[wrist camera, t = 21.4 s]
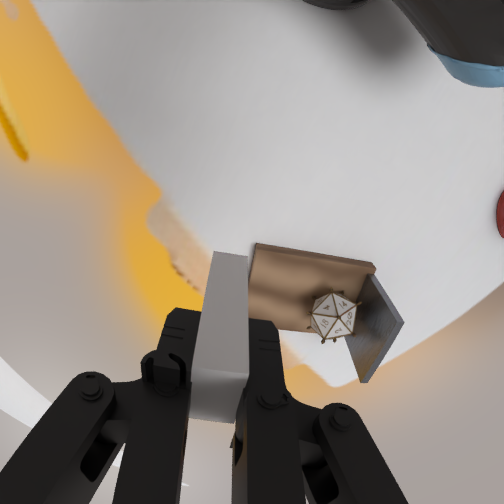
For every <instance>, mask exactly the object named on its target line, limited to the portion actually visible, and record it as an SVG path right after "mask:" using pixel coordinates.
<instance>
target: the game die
mask: <svg viewBox="0 0 504 504" xmlns="http://www.w3.org/2000/svg"><path fill="white" fill-rule="evenodd" d="M343 294H344V292H343V291H341V294H338V293H335V292H333V288H332V287H331V288H330V293H328V294H326V295H324V296H322V297H319V298H317V299H316V298H315V297H313V296H311V297H312V299H313V300H314V304H313V307H312V311H311V312H310V311H308V312H306V313H307V315H311V326H308V327H307V328H306V329H308V330H309V329H310V328H312V329H313V330H314V331H315V332H317V333H318V334H319V335H320V336H321V337H322V338H323V340H322V341H321V342H322V344H323V343H325V340H326V339H333V342H336V338H339V337H343V336H347V335H351V334H352V336H353V337H356V334H355V333H353V330H354V324H355V321H356V320H357V318H356V311H357V306H358V305H361V303H362V302H357V304H356V303H354V302H353V301H351V300H350V299H348V298H346V297H345V296H343Z"/></svg>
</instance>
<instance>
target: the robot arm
mask: <svg viewBox="0 0 504 504" xmlns="http://www.w3.org/2000/svg"><path fill="white" fill-rule="evenodd" d="M303 1H305V2H308V3H310V4H312V5H315V6H319V7H322V8H327V9H334V10H346V9H352V8H356V7H359V6H362V5H364V4H365V3H367V2H368V1H369V0H303ZM393 2H394V3H395V4H396V5H397V6H398V7H399V8H400V9H401V11H402V12H403V13H404V14H405V15H406V17H407V18H408V19H409V20H410V21H411V23H412V24H413V25H414V26H415V28H416V29H417V30H418V32H419V33H420V34H421V35H422V37H423V38H424V40H425V41H426V42H427V46H428V47H429V49H430V50H431V51H432V52H433V53H434V54H435V55H437V57H438V58H439V59H440V61H441V62H442V64H443V65H444V66H445V68H446V69H447V71H448V72H449V73H450V74H451V75H452V76H453V77H454V78H456V79H458V80H460V81H461V82H463V83H465V84H468V85H472V86H477V87H487V88H494V87H504V0H393ZM279 342H280V340H279V332H278V330H277V328H276V327H275V325H274V324H273V322H272V321H269V320H261V319H254V318H248V256H242V255H236V254H230V253H223V252H217V251H214V252H213V257H212V262H211V266H210V271H209V276H208V281H207V287H206V292H205V297H204V302H203V308H202V312H200V311H194V310H188V309H182V308H175V309H173V310H172V312H170V313H169V314H168V315H167V318H166V321H165V324H164V328H163V330H162V333H161V337H160V340H159V343H158V346H157V350H154V351H151V352H150V353H148V354H146V355H145V356H144V357H143V359H142V361H141V372H142V378H141V379H138V380H135V381H130V382H116V383H115V382H113V383H112V382H111V381H110V379H109V378H107V377H106V376H105V375H104V374H101V373H98V372H84V373H81V374H79V375H77V376H76V377H75V378H74V379H72V381H71V382H70V383H69V384H68V385H67V387H66V388H65V389H64V390H63V391H62V393H61V394H60V395H59V396H58V398H57V399H56V400H55V401H54V403H53V404H52V405H51V406H50V407H49V409H48V410H47V411H46V412H45V414H44V415H43V416H42V417H41V419H40V420H39V421H38V423H37V424H36V425H35V426H34V428H33V429H32V430H31V432H30V433H29V434H28V435H27V437H26V438H25V439H24V441H23V442H22V443H21V445H20V446H19V448H18V449H17V450H16V451H15V453H14V454H13V456H12V457H11V458H10V460H9V461H8V462H7V464H6V465H5V466H4V468H3V469H2V471H1V472H0V504H89V502H90V501H91V499H92V497H93V496H94V494H95V492H96V490H97V489H98V487H99V485H100V483H101V482H102V480H103V478H104V477H105V475H106V473H107V471H108V470H109V468H110V466H111V465H112V463H113V461H114V459H115V458H116V456H117V454H118V453H119V451H120V449H121V447H122V446H123V444H124V443H126V445H125V448H124V452H123V456H122V461H121V465H120V469H119V474H118V478H117V483H116V487H115V492H114V498H113V502H112V504H179V501H180V491H181V482H182V473H183V464H184V455H185V447H186V439H187V428H188V420H189V418H193V419H200V420H207V421H215V422H223V423H233V424H234V422H235V419H236V425H235V427H236V429H235V433H234V436H233V439H232V442H231V445H230V448H233V456H232V457H233V459H232V504H306V499H305V495H306V497H307V500H308V502H309V504H408V502H407V500H406V498H405V497H404V495H403V493H402V491H401V489H400V487H399V485H398V484H397V482H396V480H395V478H394V477H393V475H392V473H391V471H390V469H389V468H388V466H387V464H386V462H385V460H384V458H383V457H382V455H381V453H380V451H379V449H378V448H377V446H376V444H375V443H374V441H373V439H372V437H371V435H370V433H369V432H368V430H367V428H366V426H365V425H364V423H363V421H362V419H361V417H360V416H359V414H358V413H357V412H356V411H355V410H354V409H353V408H351V407H350V406H348V405H345V404H342V403H331V404H329V405H326V406H325V407H324V408H323V409H319V408H316V407H312V406H309V405H306V404H303V403H301V402H299V401H297V400H296V399H294V398H293V397H292V396H291V393H290V392H289V391H288V390H287V389H286V385H285V380H284V372H283V364H282V356H281V348H280V343H279Z"/></svg>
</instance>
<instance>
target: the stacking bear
mask: <svg viewBox="0 0 504 504" xmlns="http://www.w3.org/2000/svg"><path fill="white" fill-rule="evenodd" d="M497 225H498V229H499V232H500V234H501V236H502V237H503V238H504V192H503V193H502V195H501V197H500V199H499V202H498V206H497Z"/></svg>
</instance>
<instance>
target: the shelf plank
mask: <svg viewBox="0 0 504 504" xmlns="http://www.w3.org/2000/svg"><path fill="white" fill-rule="evenodd" d="M375 271H376V268H375V266H374V265H373V263H371V262H365V261H360V260H354V259H348V258H342V257H337V256H331V255H325V254H319V253H313V252H307V251H301V250H295V249H290V248H284V247H278V246H272V245H266V244H260V243H257V244H256V248H255V253H254V258H253V262H252V267H251V271H250V276H249V280H248V318H254V319H261V320H269V321H272V322H273V324H274V325H275V327H276V328H277V329H280V330H289V331H298V332H308V333H317V332H315V331H314V330H313V329H312V328H310V329H309V330H308V329H306V328H307V327H308V326H311V315H307V313H306V312H308V311H310V312H311V311H312V307H313V304H314V300H313V299H312V297H311V296H313V297H315V298H316V299H317V298H319V297H322V296H324V295H326V294H328V293H330V288H331V287H332V288H333V292H335V293H338V294H341V291H343V292H344V294H343V296H345V297H346V298H348V299H350V300H351V301H353V302H354V303H355V302H356V300H357V297H358V295H359V293H360V290H361V288H362V286H363V283H364V281H365V278H366V276H367V274H368V273H369V274H374V273H375Z"/></svg>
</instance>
